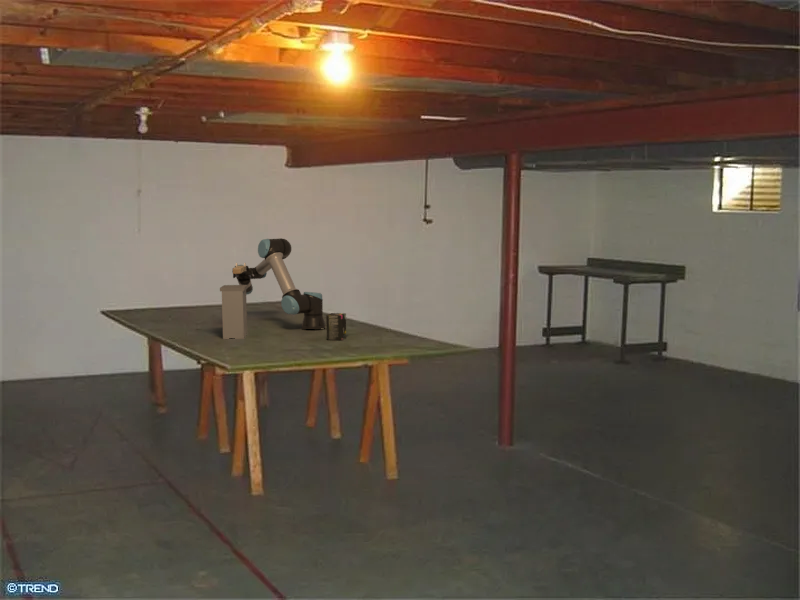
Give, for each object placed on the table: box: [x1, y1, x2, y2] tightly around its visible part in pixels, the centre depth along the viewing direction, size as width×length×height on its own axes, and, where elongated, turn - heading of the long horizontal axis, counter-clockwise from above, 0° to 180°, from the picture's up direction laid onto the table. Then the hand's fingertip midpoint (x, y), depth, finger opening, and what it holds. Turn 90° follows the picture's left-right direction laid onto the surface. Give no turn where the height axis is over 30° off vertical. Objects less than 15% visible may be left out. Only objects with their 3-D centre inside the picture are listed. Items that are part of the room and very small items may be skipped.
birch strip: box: [232, 265, 245, 275], centre depth 555 cm, size 28×4×3 cm, turn 3°
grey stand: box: [219, 284, 248, 340], centre depth 529 cm, size 18×14×30 cm
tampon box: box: [325, 312, 347, 341], centre depth 518 cm, size 11×9×15 cm
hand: (240, 264), depth 560 cm, fingers closed on birch strip, 4 cm apart
